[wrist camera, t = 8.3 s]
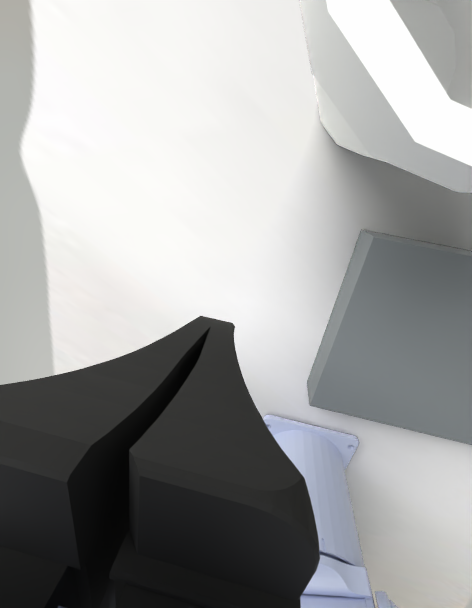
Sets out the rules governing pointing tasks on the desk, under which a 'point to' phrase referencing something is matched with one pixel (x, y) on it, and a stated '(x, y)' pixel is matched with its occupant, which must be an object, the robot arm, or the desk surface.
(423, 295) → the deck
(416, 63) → the foam cup
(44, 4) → the desk surface
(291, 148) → the desk surface
